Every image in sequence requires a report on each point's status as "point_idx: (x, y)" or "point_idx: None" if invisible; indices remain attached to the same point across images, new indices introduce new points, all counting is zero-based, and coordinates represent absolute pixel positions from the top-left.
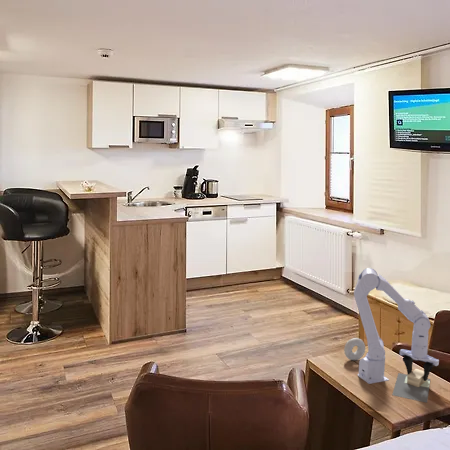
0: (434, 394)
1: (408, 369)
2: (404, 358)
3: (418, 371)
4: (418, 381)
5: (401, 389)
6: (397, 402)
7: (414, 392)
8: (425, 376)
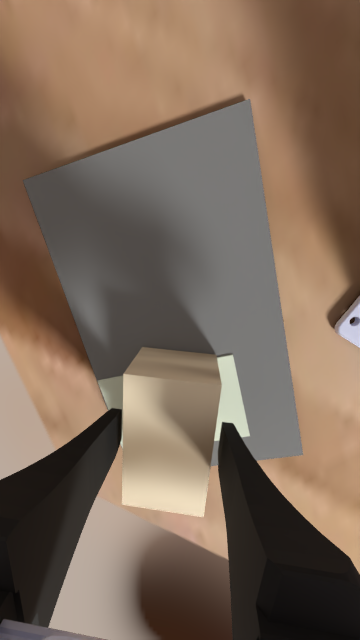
0: (52, 332)
1: (236, 456)
2: (344, 608)
3: (174, 485)
4: (132, 363)
5: (219, 248)
6: (180, 25)
7: (136, 266)
8: (90, 427)
